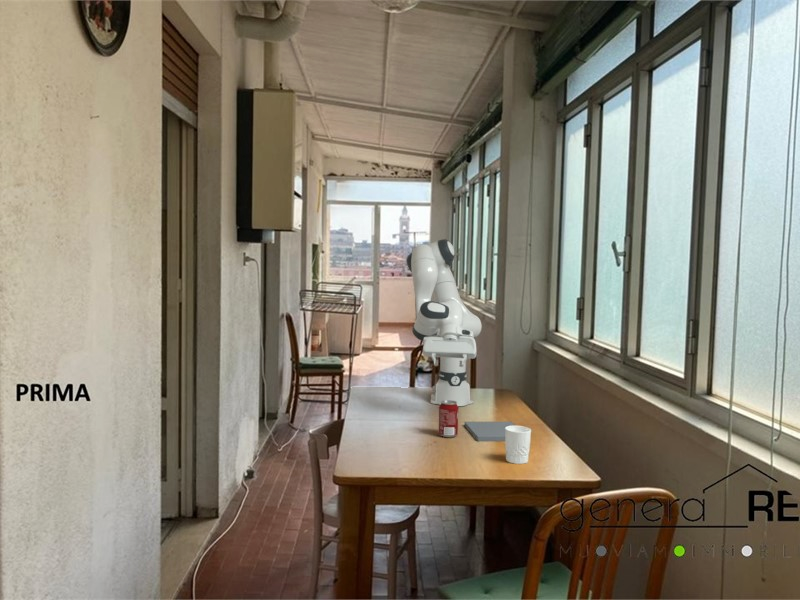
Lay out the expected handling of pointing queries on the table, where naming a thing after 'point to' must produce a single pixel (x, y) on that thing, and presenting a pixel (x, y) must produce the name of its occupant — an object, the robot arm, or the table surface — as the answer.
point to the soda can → (448, 419)
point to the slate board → (488, 430)
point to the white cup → (517, 444)
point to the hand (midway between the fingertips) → (448, 365)
